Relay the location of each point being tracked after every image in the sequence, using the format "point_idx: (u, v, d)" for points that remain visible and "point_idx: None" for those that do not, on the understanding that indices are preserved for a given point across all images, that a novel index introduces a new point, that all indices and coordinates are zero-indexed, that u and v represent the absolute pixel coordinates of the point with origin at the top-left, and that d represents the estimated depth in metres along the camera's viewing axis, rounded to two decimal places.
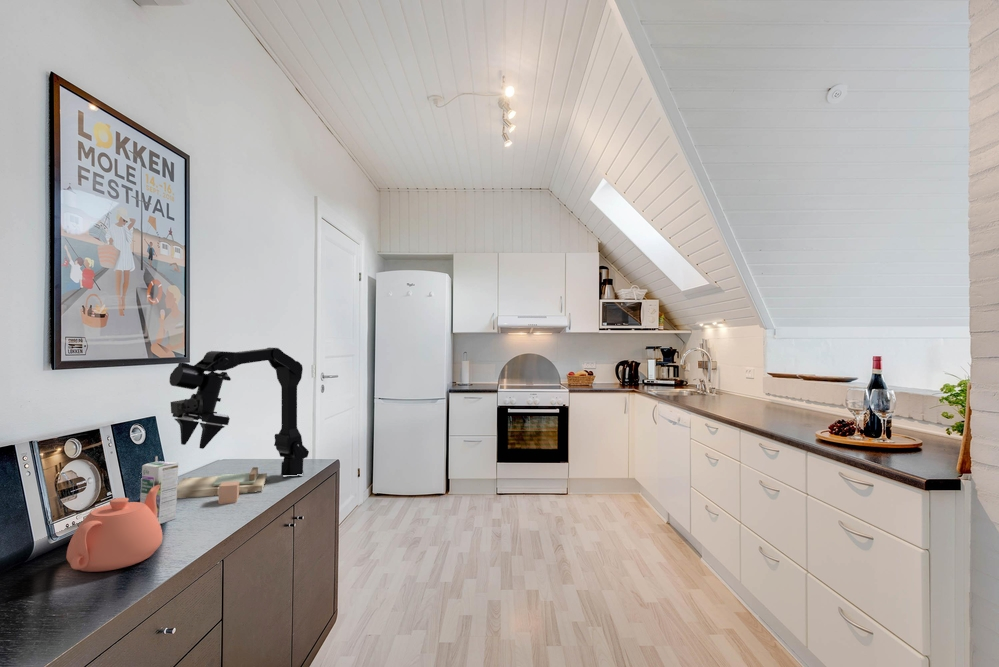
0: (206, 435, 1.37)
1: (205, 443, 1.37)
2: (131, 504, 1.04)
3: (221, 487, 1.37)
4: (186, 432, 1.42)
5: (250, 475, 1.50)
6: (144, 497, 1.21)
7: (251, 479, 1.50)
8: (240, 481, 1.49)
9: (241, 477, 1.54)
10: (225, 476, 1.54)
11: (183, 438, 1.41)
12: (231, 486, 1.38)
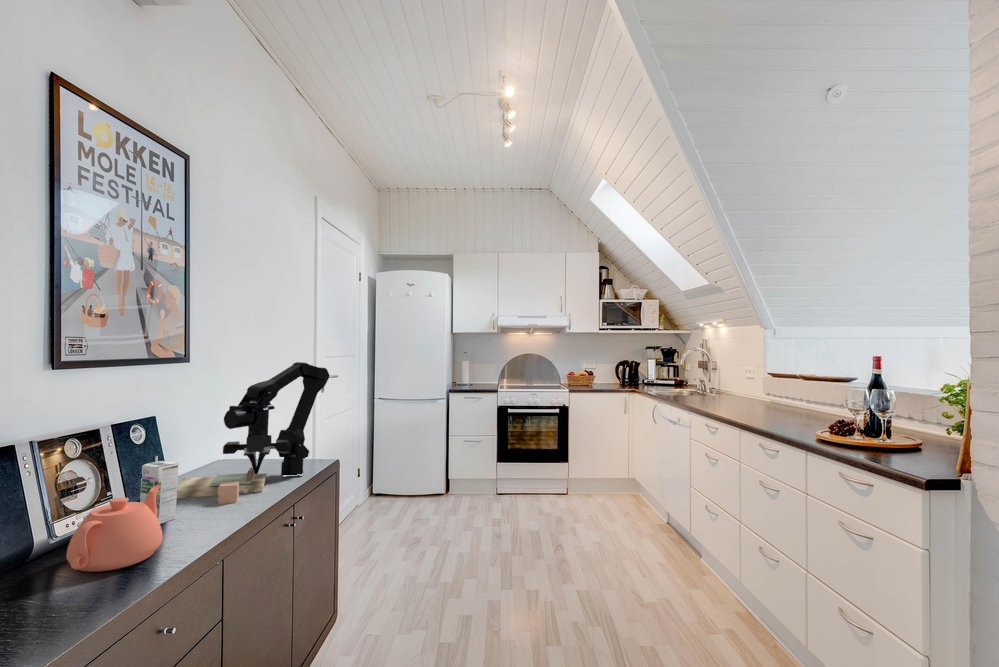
0: (261, 462, 1.55)
1: (259, 468, 1.56)
2: (131, 504, 1.04)
3: (221, 487, 1.37)
4: (255, 462, 1.55)
5: (247, 475, 1.50)
6: (144, 497, 1.21)
7: (248, 479, 1.50)
8: None
9: (238, 477, 1.54)
10: (222, 476, 1.54)
11: None
12: (231, 486, 1.38)
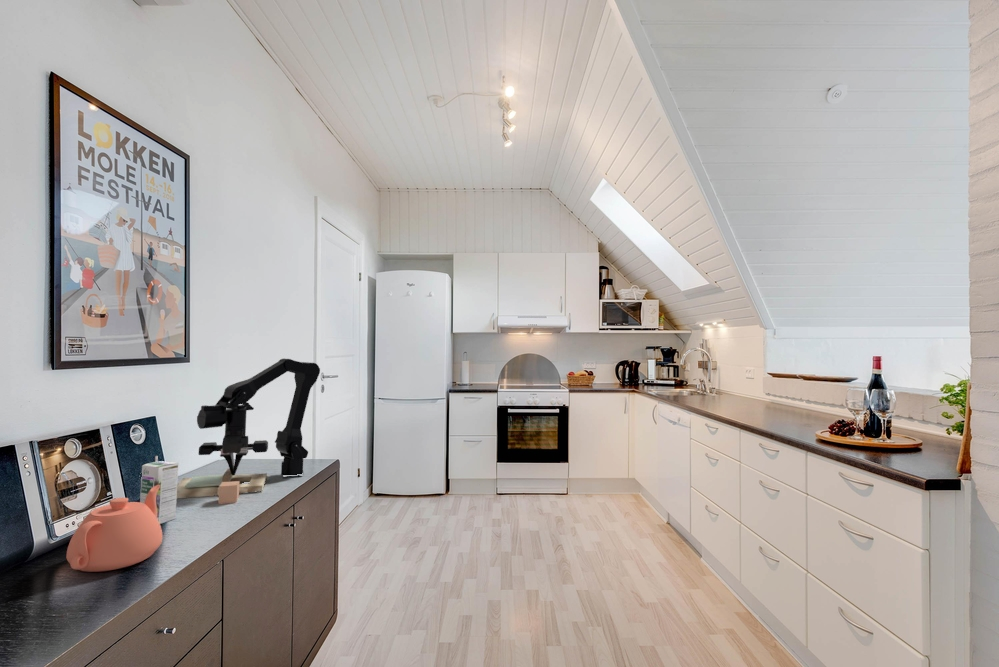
0: (238, 463, 1.53)
1: (236, 469, 1.53)
2: (131, 504, 1.04)
3: (221, 487, 1.37)
4: (233, 464, 1.53)
5: (223, 477, 1.48)
6: (144, 497, 1.21)
7: (224, 481, 1.48)
8: (213, 483, 1.47)
9: (215, 479, 1.51)
10: (199, 478, 1.52)
11: (233, 469, 1.52)
12: (231, 486, 1.38)
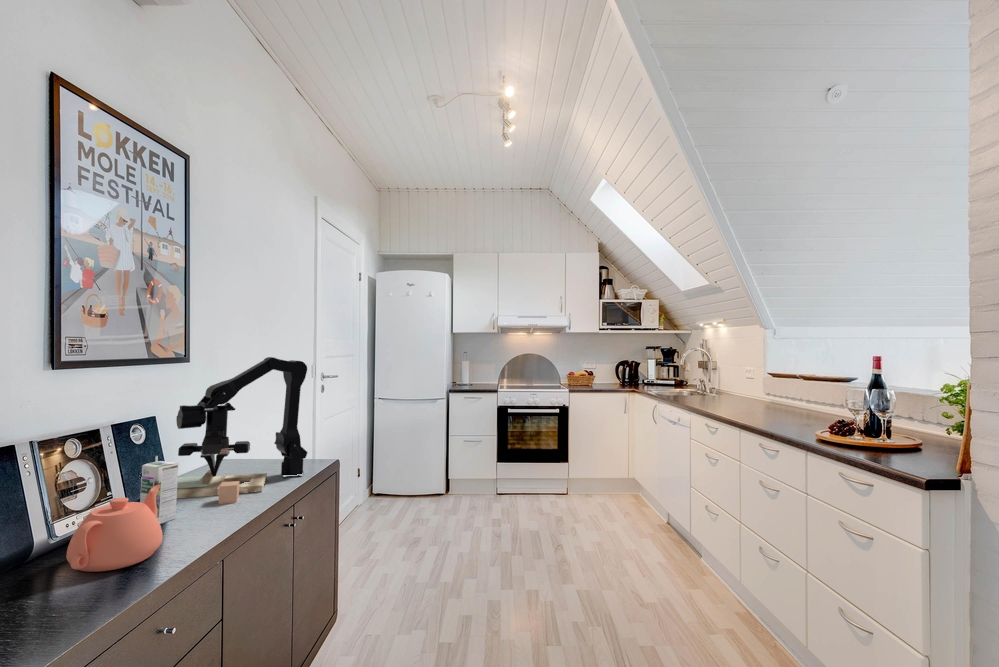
0: (219, 464, 1.51)
1: (217, 470, 1.51)
2: (131, 504, 1.04)
3: (221, 487, 1.37)
4: (213, 465, 1.51)
5: (203, 478, 1.46)
6: (144, 497, 1.21)
7: (204, 482, 1.46)
8: (193, 484, 1.45)
9: (195, 480, 1.49)
10: (179, 479, 1.50)
11: None
12: (231, 486, 1.38)
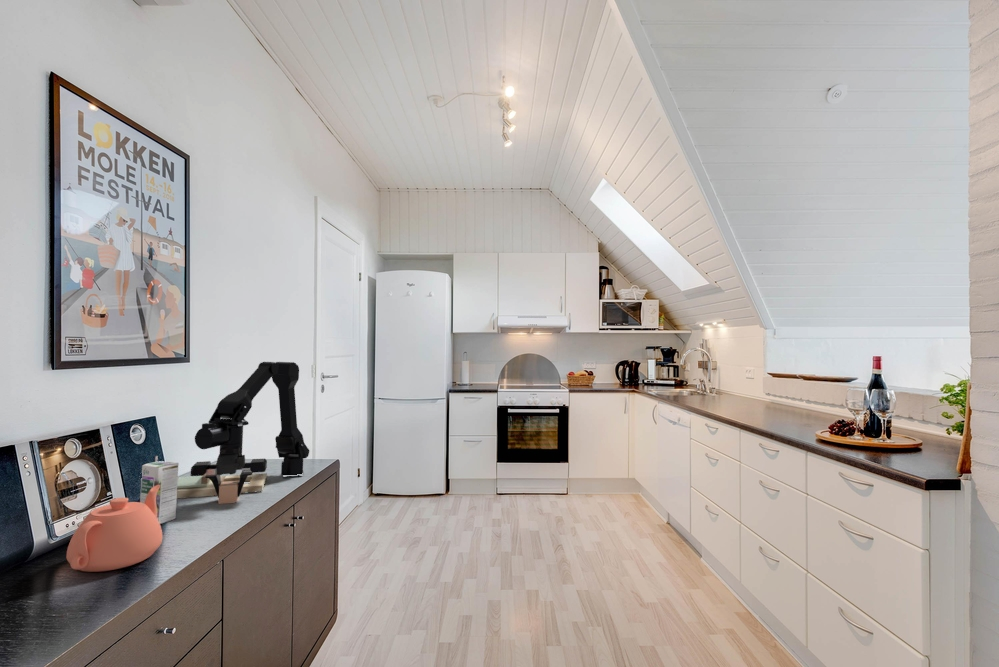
0: (243, 483, 1.41)
1: None
2: (131, 504, 1.04)
3: (221, 487, 1.37)
4: (219, 485, 1.39)
5: (202, 478, 1.46)
6: (144, 497, 1.21)
7: (203, 482, 1.46)
8: (192, 484, 1.45)
9: (194, 480, 1.49)
10: (178, 479, 1.50)
11: None
12: (231, 486, 1.38)
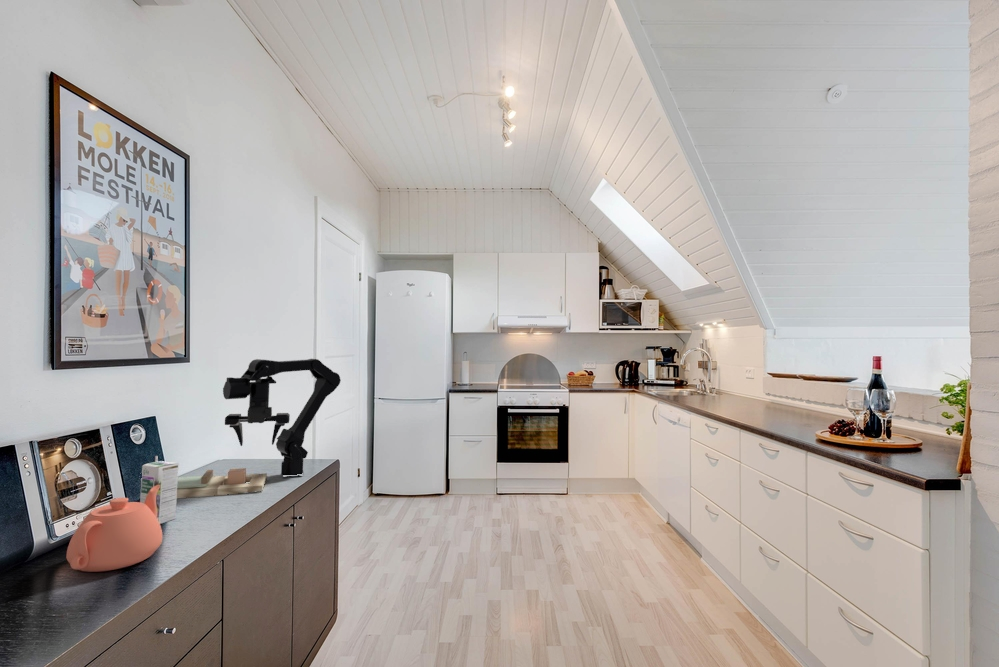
0: None
1: None
2: (131, 504, 1.04)
3: (229, 473, 1.50)
4: (241, 435, 1.58)
5: (202, 478, 1.46)
6: (144, 497, 1.21)
7: (203, 482, 1.46)
8: (192, 484, 1.45)
9: (194, 480, 1.49)
10: (178, 479, 1.50)
11: (242, 440, 1.58)
12: (239, 472, 1.51)
